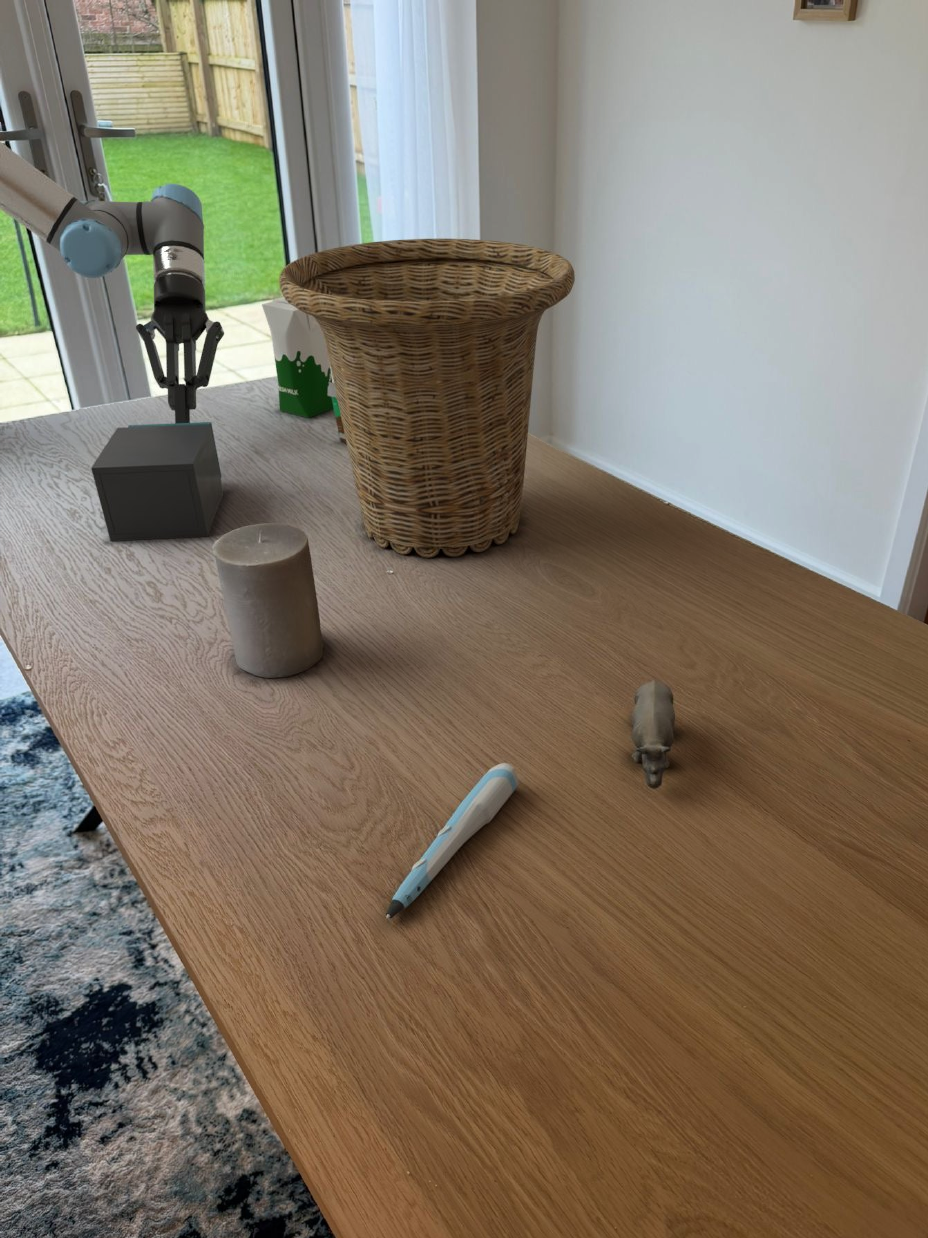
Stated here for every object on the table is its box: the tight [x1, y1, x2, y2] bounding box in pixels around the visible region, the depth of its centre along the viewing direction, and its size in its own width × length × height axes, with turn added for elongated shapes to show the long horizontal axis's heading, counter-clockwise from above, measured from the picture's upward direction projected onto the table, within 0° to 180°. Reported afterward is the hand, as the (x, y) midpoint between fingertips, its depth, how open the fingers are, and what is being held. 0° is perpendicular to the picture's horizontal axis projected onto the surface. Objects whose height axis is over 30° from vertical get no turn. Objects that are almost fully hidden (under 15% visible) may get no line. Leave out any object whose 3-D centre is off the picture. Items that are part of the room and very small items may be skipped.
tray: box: [127, 421, 222, 478], centre depth 146 cm, size 19×12×8 cm, turn 6°
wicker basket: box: [278, 238, 576, 559], centre depth 131 cm, size 35×35×33 cm
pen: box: [385, 762, 519, 920], centre depth 86 cm, size 19×3×3 cm, turn 153°
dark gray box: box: [90, 424, 224, 542], centre depth 140 cm, size 15×13×10 cm
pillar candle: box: [212, 522, 325, 679], centre depth 109 cm, size 10×10×15 cm
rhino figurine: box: [630, 679, 676, 790], centre depth 95 cm, size 4×14×6 cm, turn 174°
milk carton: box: [261, 297, 334, 419], centre depth 174 cm, size 9×9×20 cm
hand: (182, 428), depth 154 cm, fingers closed
